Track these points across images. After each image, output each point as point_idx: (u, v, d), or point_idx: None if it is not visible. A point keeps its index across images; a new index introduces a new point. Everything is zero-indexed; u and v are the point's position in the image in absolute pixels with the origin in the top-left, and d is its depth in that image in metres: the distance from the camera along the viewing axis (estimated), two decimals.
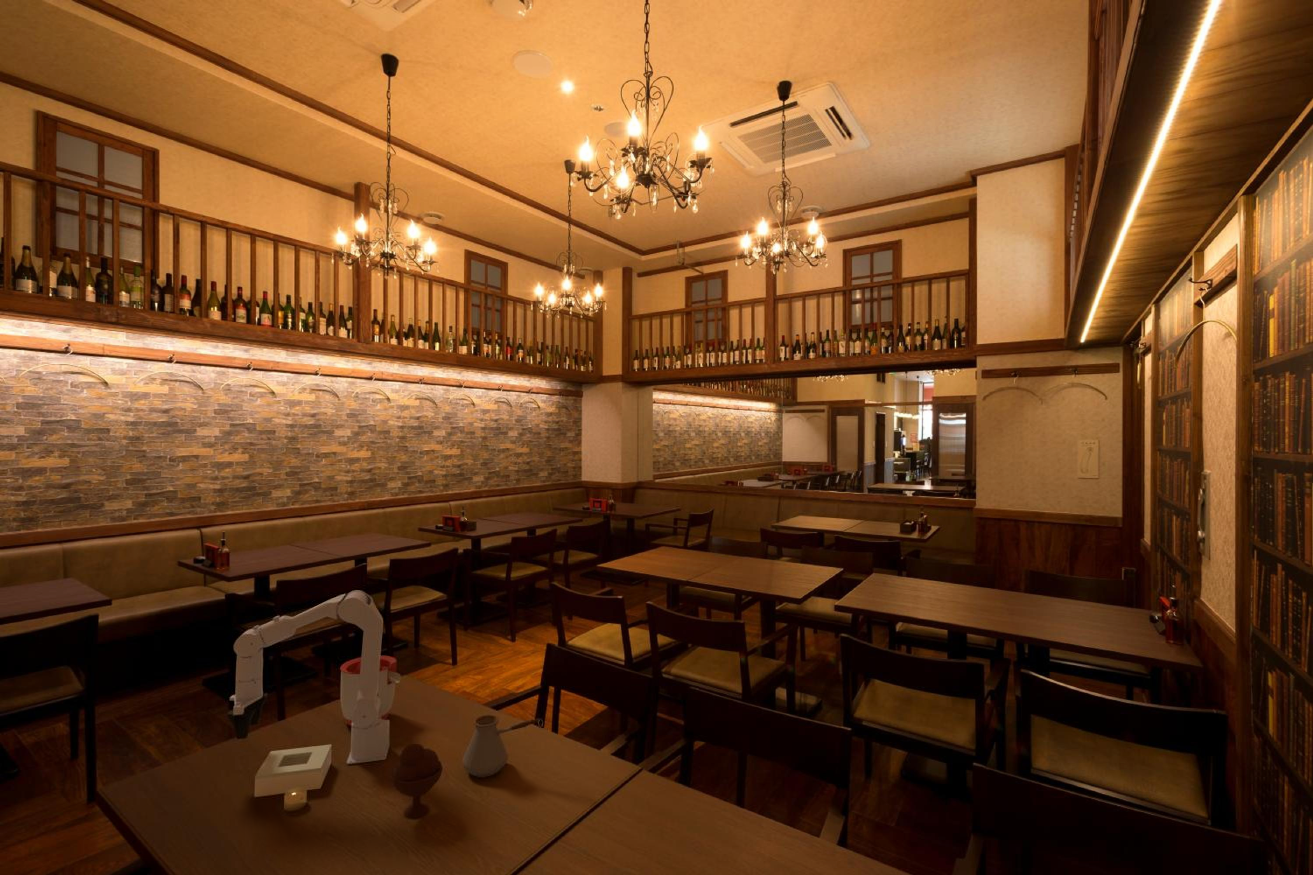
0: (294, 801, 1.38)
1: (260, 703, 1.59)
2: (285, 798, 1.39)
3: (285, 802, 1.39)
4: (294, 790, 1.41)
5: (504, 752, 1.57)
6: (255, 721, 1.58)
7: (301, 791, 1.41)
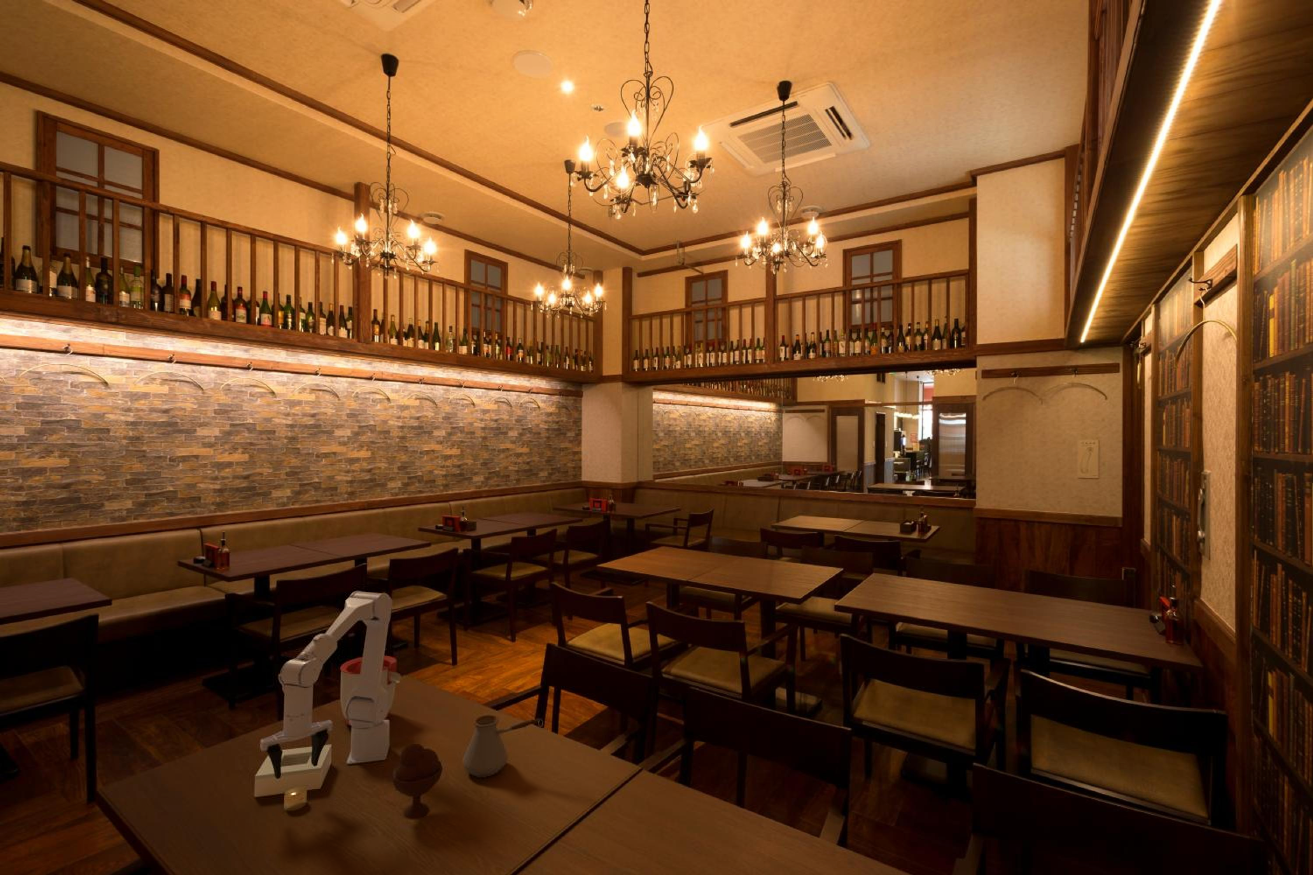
0: (294, 801, 1.38)
1: (316, 744, 1.42)
2: (285, 798, 1.39)
3: (285, 802, 1.39)
4: (294, 790, 1.41)
5: (504, 752, 1.57)
6: (313, 762, 1.43)
7: (301, 791, 1.41)
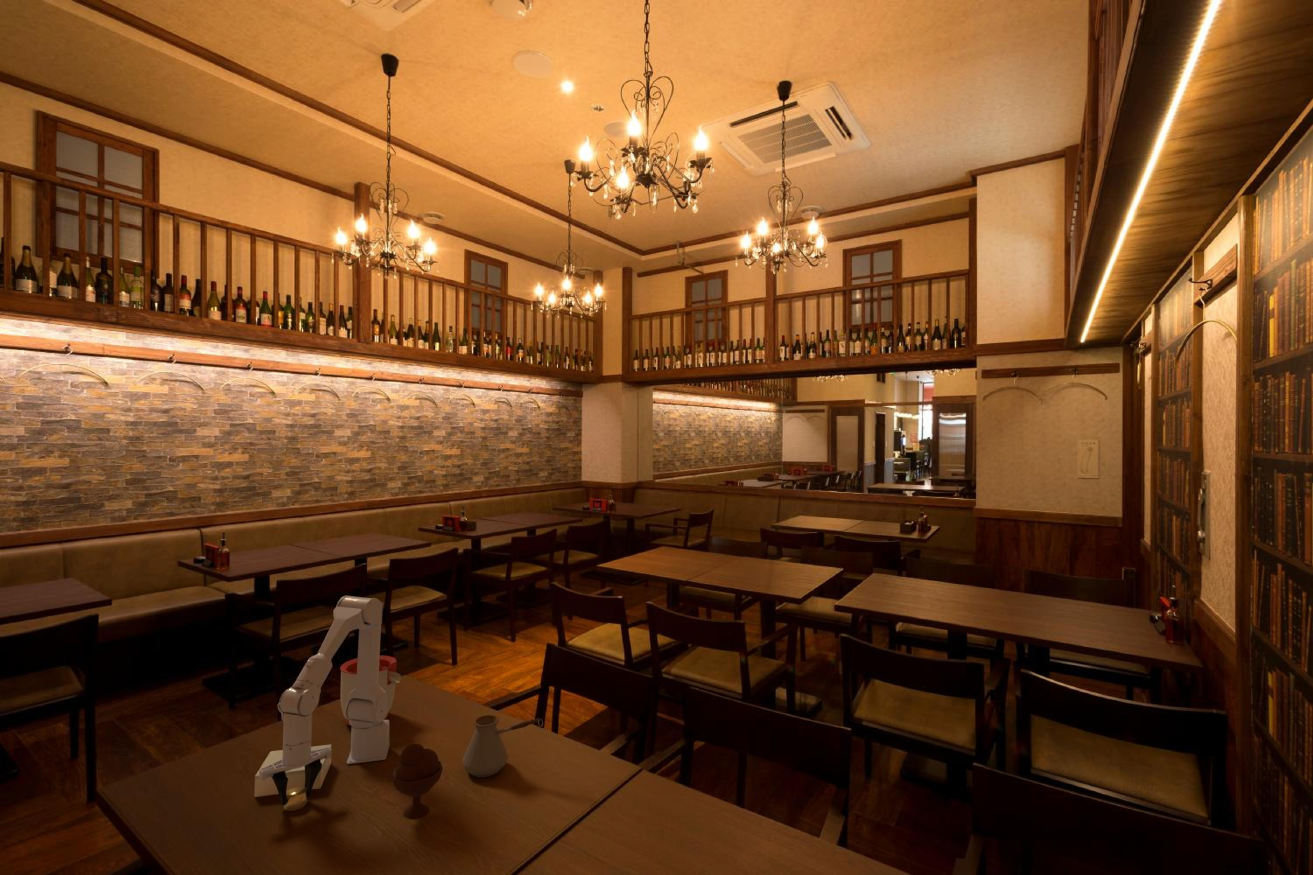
0: (294, 800, 1.38)
1: (309, 774, 1.41)
2: None
3: None
4: (294, 789, 1.41)
5: (504, 752, 1.57)
6: (307, 792, 1.42)
7: (301, 791, 1.41)
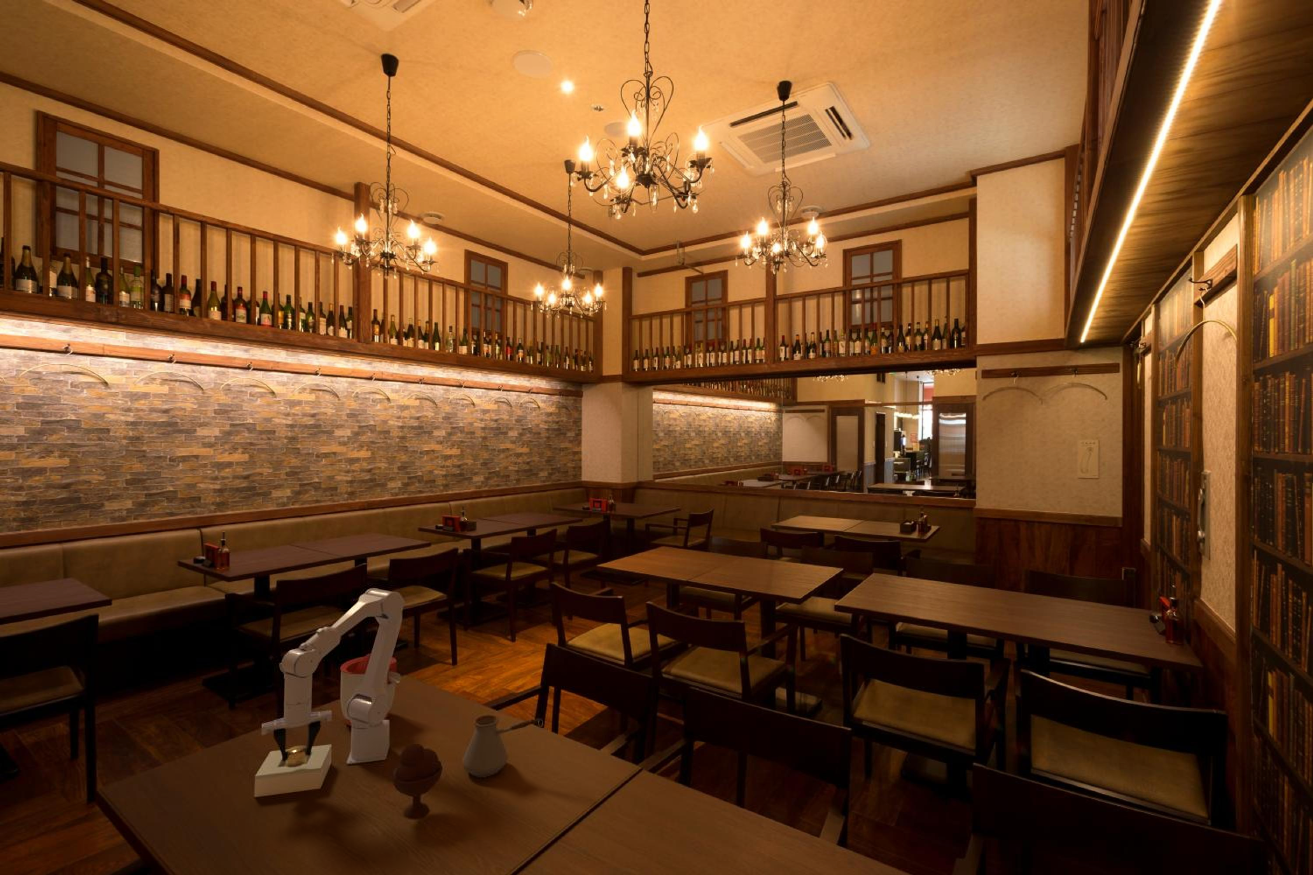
0: (293, 758, 1.44)
1: (309, 734, 1.46)
2: (286, 754, 1.45)
3: (286, 758, 1.45)
4: (296, 747, 1.47)
5: (504, 752, 1.57)
6: (307, 751, 1.47)
7: (301, 749, 1.46)
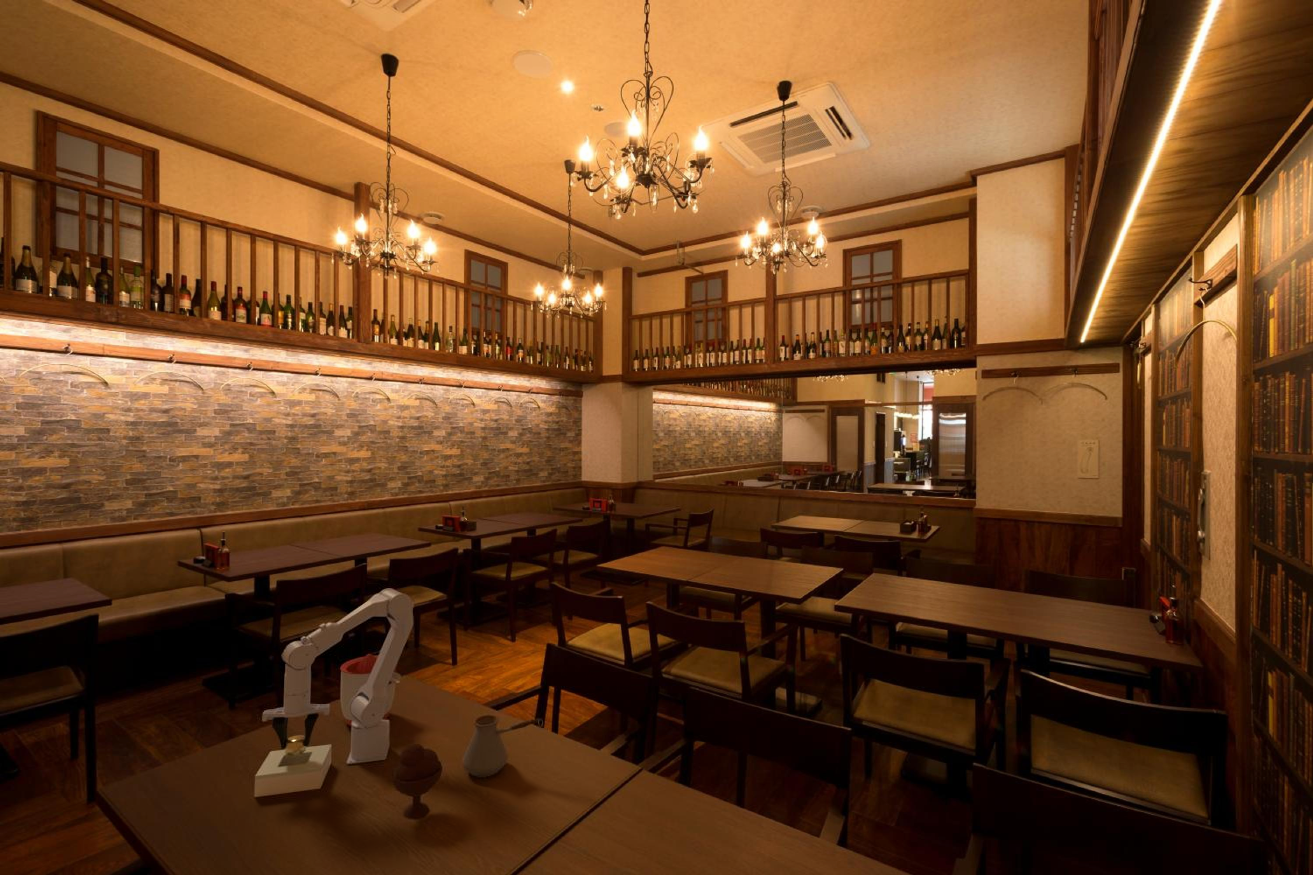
0: (289, 747, 1.49)
1: None
2: None
3: (285, 746, 1.50)
4: (297, 736, 1.52)
5: (504, 752, 1.57)
6: (305, 742, 1.51)
7: (299, 739, 1.51)
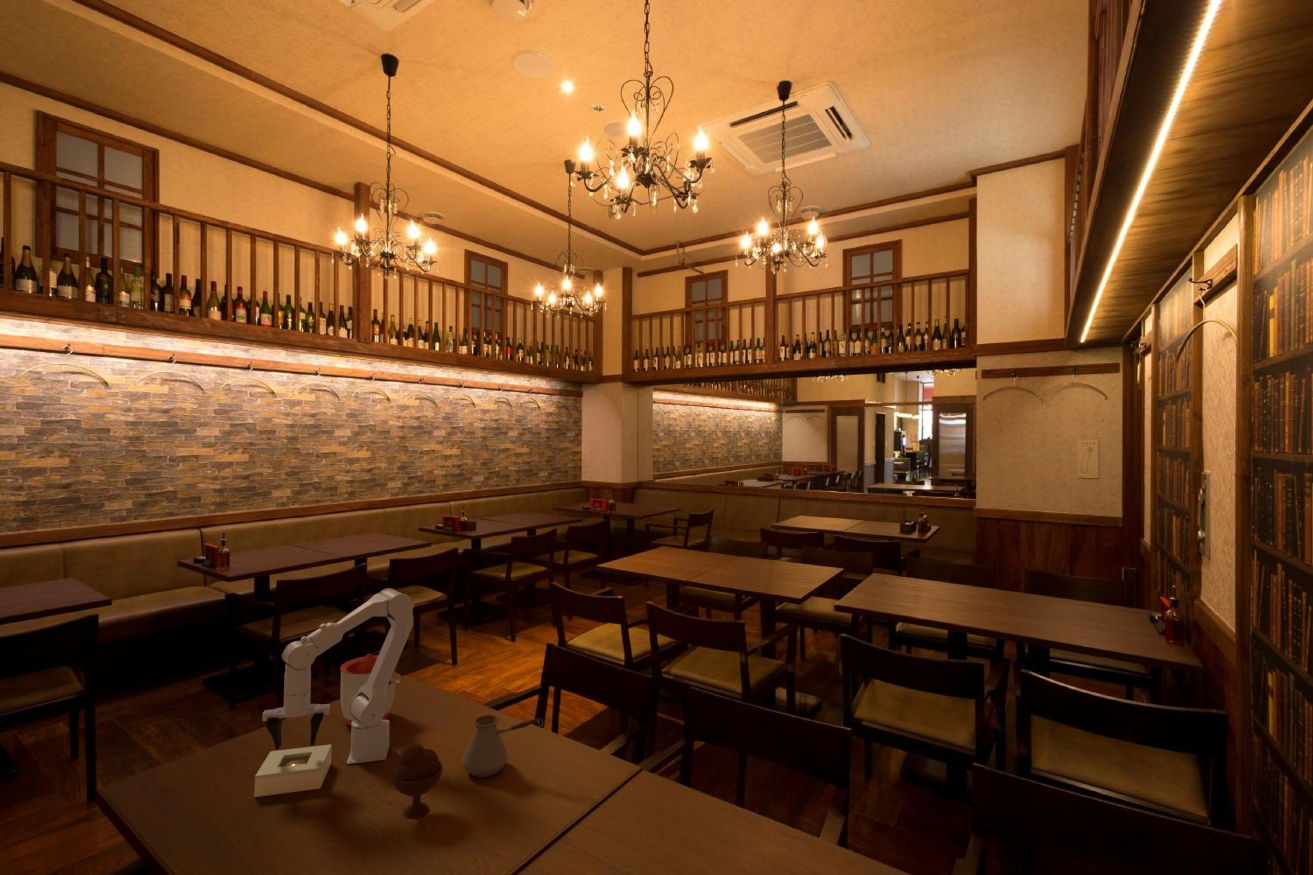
0: None
1: None
2: None
3: None
4: (296, 761, 1.52)
5: (504, 752, 1.57)
6: None
7: (299, 764, 1.51)
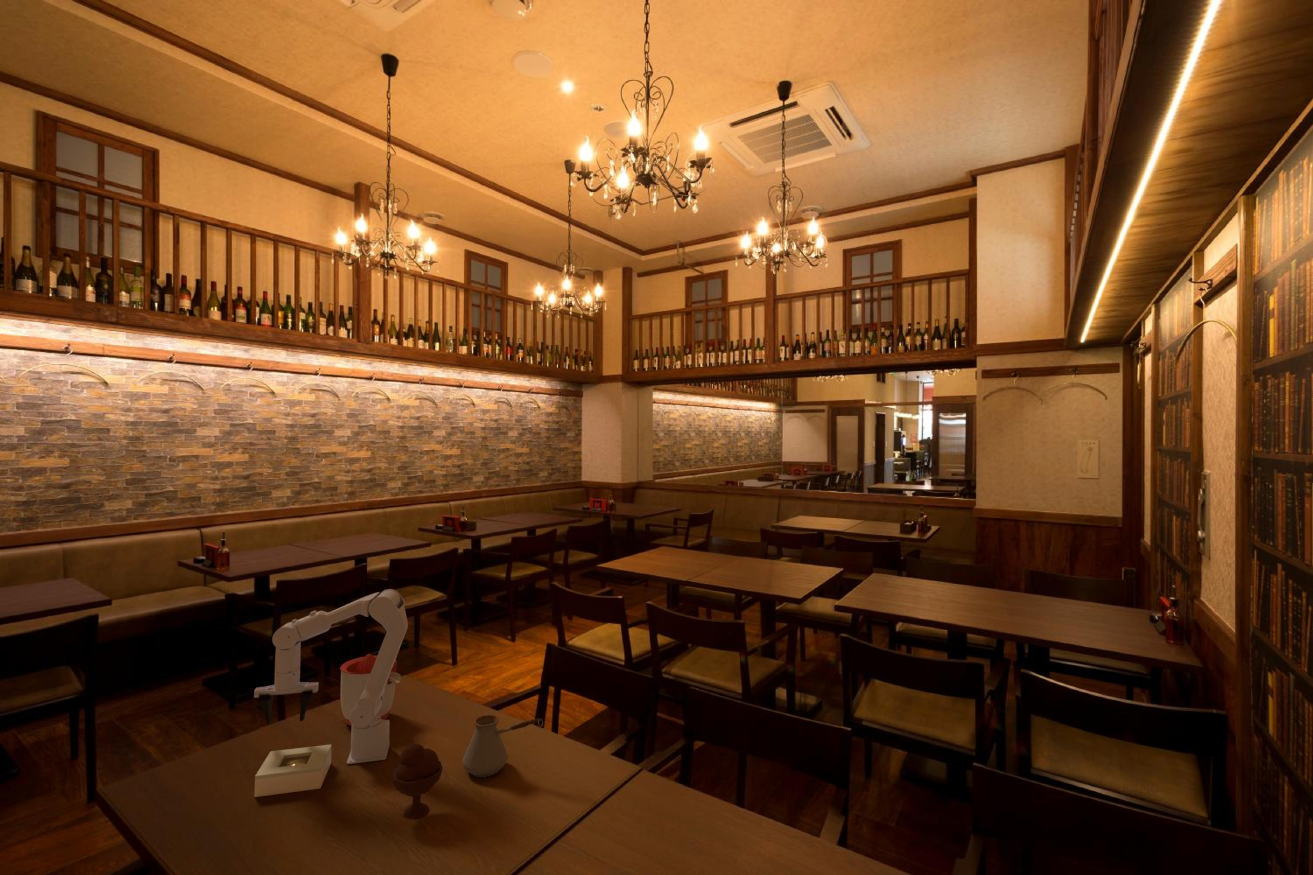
0: None
1: None
2: None
3: None
4: (296, 761, 1.52)
5: (504, 752, 1.57)
6: (300, 717, 1.60)
7: (298, 764, 1.51)
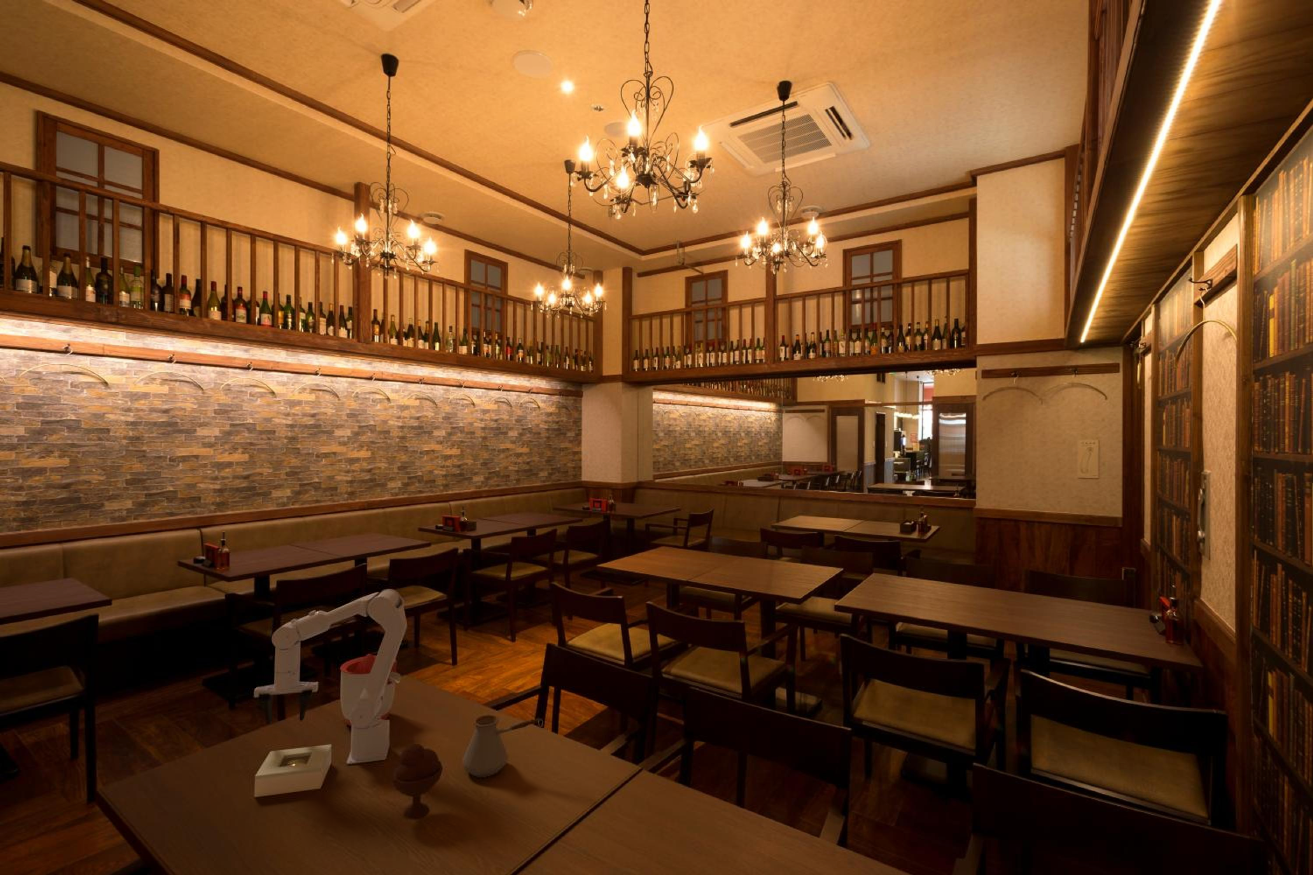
0: None
1: None
2: None
3: None
4: (297, 761, 1.52)
5: (504, 752, 1.57)
6: (300, 717, 1.61)
7: (298, 764, 1.51)
